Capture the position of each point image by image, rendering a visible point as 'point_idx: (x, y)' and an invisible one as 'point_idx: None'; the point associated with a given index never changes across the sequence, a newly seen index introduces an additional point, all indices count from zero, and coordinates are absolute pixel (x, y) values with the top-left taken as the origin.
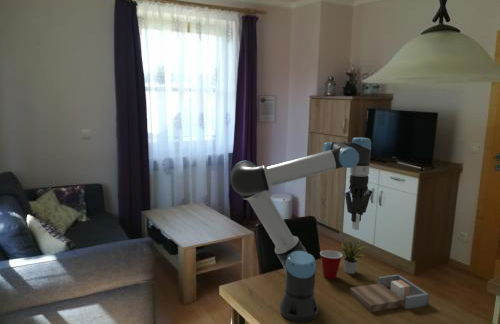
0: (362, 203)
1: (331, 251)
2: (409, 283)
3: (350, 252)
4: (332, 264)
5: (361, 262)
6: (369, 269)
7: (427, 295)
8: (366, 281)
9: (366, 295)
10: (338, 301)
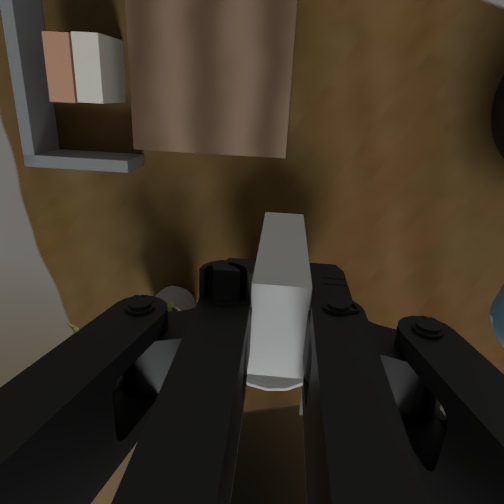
0: (147, 445)
1: None
2: (23, 74)
3: None
4: None
5: None
6: (92, 292)
7: None
8: (159, 218)
9: (260, 76)
10: (365, 120)
